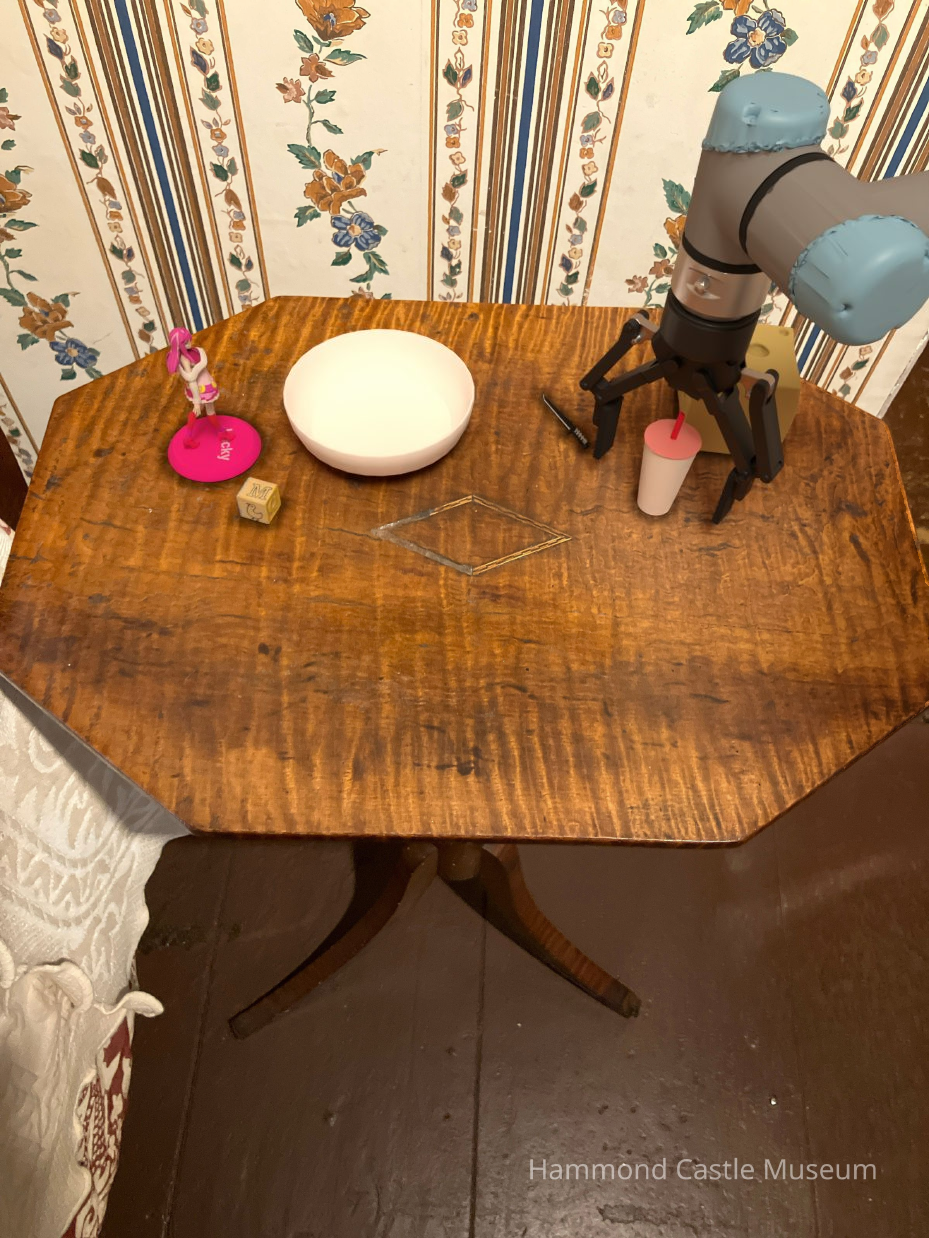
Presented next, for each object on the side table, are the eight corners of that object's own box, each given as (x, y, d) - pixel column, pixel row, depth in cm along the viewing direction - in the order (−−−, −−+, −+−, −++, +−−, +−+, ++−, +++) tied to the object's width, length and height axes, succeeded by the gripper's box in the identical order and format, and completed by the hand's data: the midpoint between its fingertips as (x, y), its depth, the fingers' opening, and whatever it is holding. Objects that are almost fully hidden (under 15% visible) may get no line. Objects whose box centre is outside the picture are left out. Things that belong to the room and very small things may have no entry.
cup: (680, 488, 91) (710, 397, 81) (679, 526, 88) (709, 437, 78) (629, 480, 91) (652, 390, 82) (626, 518, 88) (649, 429, 78)
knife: (534, 396, 99) (534, 394, 98) (545, 393, 99) (546, 390, 99) (579, 452, 94) (580, 449, 93) (591, 448, 94) (592, 445, 94)
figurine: (262, 478, 90) (235, 359, 78) (166, 487, 89) (123, 368, 77) (260, 414, 96) (234, 293, 83) (169, 421, 95) (129, 301, 82)
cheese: (675, 388, 100) (696, 313, 92) (770, 399, 99) (800, 324, 91) (674, 452, 94) (697, 378, 86) (776, 464, 93) (809, 390, 85)
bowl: (446, 362, 101) (446, 316, 96) (495, 481, 91) (498, 437, 86) (277, 389, 98) (269, 343, 93) (308, 516, 87) (300, 473, 82)
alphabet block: (254, 496, 89) (248, 475, 86) (282, 504, 88) (278, 482, 86) (240, 518, 87) (234, 497, 85) (269, 525, 87) (264, 504, 84)
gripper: (559, 257, 72) (536, 446, 90) (842, 386, 64) (755, 568, 81) (609, 218, 76) (577, 408, 93) (883, 336, 67) (791, 520, 85)
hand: (660, 483), depth 87 cm, fingers open, 13 cm apart
